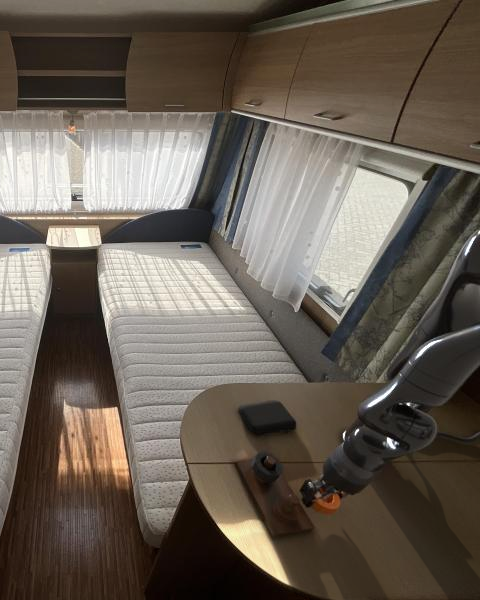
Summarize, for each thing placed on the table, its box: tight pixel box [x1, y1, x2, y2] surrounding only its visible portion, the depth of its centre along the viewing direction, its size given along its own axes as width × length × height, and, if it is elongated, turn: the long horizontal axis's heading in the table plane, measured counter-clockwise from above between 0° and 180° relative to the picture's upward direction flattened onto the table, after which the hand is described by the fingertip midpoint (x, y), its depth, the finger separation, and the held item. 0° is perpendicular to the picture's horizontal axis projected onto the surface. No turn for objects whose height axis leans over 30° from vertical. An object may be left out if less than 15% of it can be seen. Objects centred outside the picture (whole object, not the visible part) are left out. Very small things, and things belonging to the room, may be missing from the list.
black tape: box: [252, 451, 284, 482], centre depth 84 cm, size 6×6×3 cm
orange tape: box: [310, 487, 341, 516], centre depth 80 cm, size 6×6×3 cm
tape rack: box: [234, 456, 316, 538], centre depth 81 cm, size 10×17×8 cm, turn 8°
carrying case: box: [237, 399, 297, 436], centre depth 99 cm, size 11×3×15 cm
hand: (318, 501), depth 81 cm, fingers closed on orange tape, 6 cm apart
